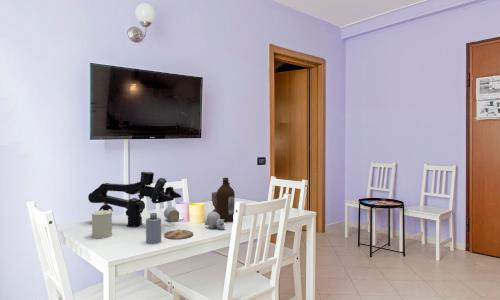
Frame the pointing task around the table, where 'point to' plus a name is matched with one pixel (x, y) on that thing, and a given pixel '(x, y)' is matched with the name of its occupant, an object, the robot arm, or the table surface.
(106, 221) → the can
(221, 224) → the chubby cartoon animal
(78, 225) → the table surface
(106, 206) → the grandmother figurine
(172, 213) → the ceramic mug
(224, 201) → the olive oil
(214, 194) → the mortar and pestle
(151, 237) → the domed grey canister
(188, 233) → the cheese board
